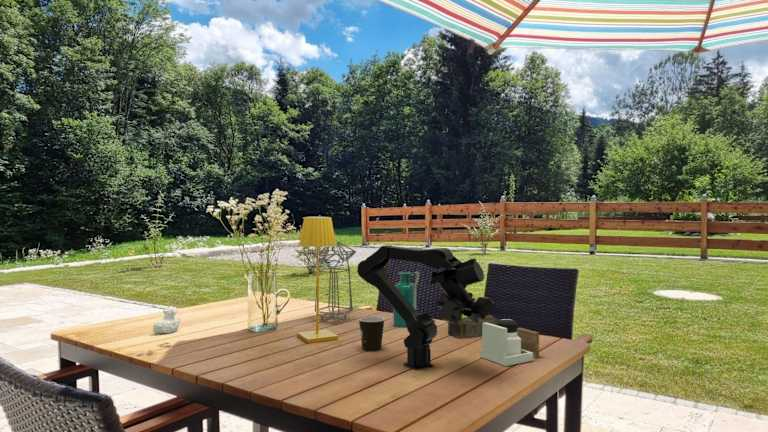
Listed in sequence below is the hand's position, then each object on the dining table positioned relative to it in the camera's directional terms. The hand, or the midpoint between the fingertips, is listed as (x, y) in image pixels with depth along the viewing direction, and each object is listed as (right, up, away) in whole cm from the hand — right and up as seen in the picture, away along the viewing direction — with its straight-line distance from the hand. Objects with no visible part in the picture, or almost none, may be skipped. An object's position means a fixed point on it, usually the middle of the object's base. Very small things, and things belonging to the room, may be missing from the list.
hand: (477, 322), depth 152 cm
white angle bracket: (+10, -13, +5) cm, 17 cm away
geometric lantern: (-50, -13, +59) cm, 79 cm away
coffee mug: (-32, -13, +18) cm, 39 cm away
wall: (+18, -13, +9) cm, 24 cm away
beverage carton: (+6, -13, +37) cm, 40 cm away
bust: (-112, -13, +39) cm, 119 cm away
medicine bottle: (+10, -13, +5) cm, 17 cm away
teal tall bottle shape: (-19, -13, +52) cm, 57 cm away
